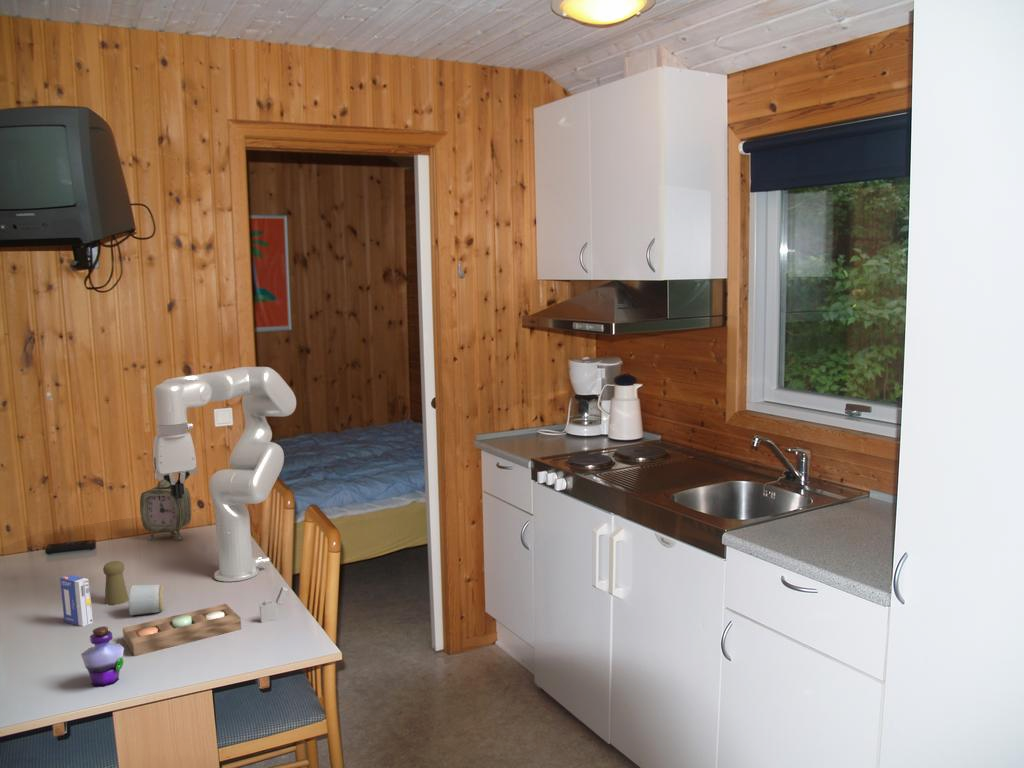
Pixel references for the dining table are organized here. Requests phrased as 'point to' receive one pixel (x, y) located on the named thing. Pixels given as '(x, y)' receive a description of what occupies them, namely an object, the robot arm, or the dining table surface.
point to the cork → (115, 583)
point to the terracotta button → (147, 631)
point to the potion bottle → (103, 658)
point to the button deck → (181, 630)
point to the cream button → (214, 615)
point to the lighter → (271, 607)
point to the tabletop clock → (164, 510)
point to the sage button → (181, 621)
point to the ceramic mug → (146, 599)
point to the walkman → (76, 600)
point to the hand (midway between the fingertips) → (178, 497)
